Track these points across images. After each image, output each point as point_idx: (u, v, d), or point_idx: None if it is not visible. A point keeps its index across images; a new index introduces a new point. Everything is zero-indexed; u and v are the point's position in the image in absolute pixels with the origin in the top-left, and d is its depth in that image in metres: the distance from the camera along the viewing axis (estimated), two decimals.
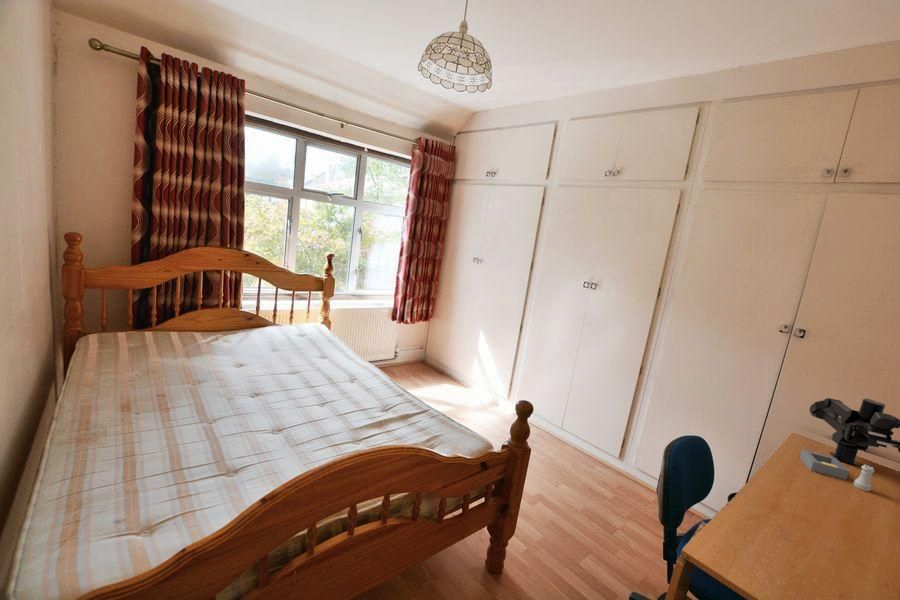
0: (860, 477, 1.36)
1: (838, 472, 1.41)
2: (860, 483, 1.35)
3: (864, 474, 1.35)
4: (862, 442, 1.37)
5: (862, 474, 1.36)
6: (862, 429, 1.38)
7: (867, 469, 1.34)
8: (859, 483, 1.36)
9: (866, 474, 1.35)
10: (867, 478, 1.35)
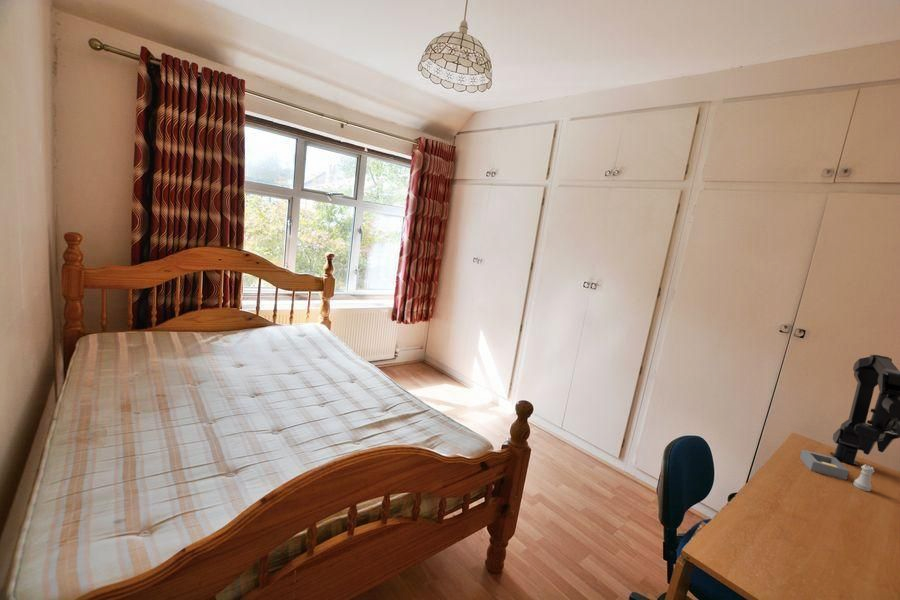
0: (860, 477, 1.36)
1: (838, 472, 1.41)
2: (860, 483, 1.35)
3: (864, 474, 1.35)
4: (861, 438, 1.33)
5: (862, 474, 1.36)
6: (878, 440, 1.28)
7: (867, 469, 1.34)
8: (859, 483, 1.36)
9: (866, 474, 1.35)
10: (867, 478, 1.35)
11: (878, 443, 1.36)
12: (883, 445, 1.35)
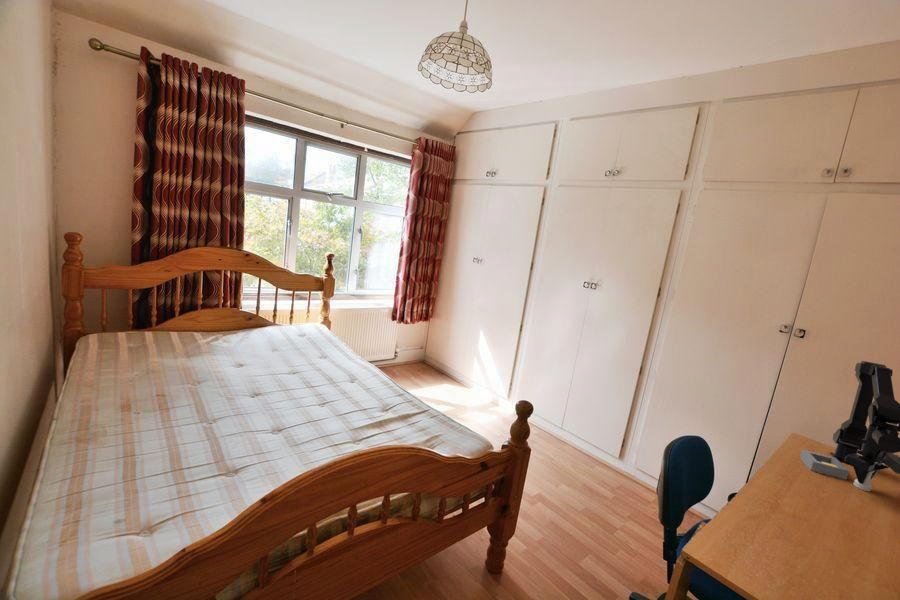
0: None
1: (838, 472, 1.41)
2: (860, 483, 1.35)
3: None
4: (855, 468, 1.35)
5: None
6: None
7: None
8: (859, 483, 1.36)
9: None
10: (867, 478, 1.35)
11: None
12: None
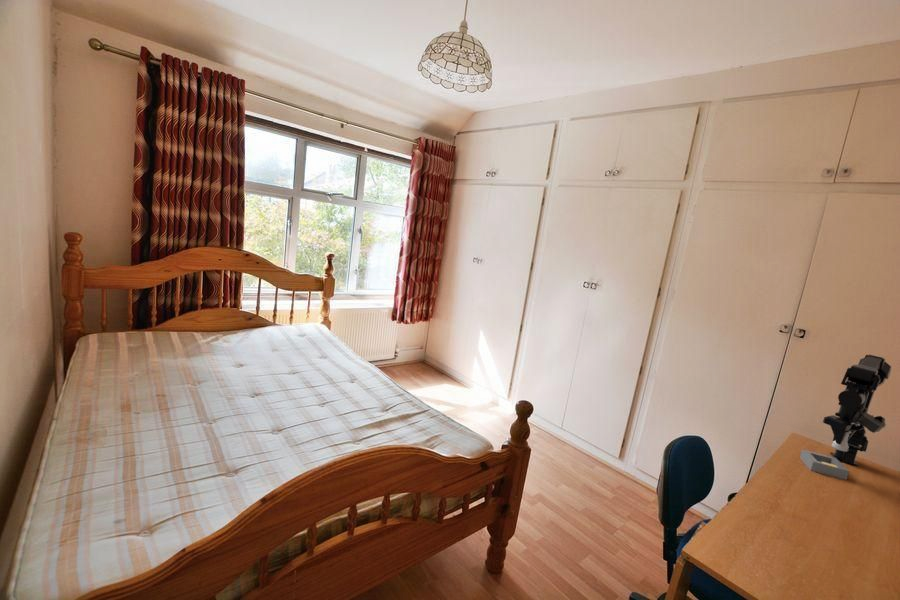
0: None
1: (838, 472, 1.41)
2: (837, 444, 1.41)
3: None
4: (834, 429, 1.41)
5: None
6: (849, 431, 1.37)
7: None
8: (837, 444, 1.42)
9: None
10: (844, 439, 1.41)
11: None
12: None
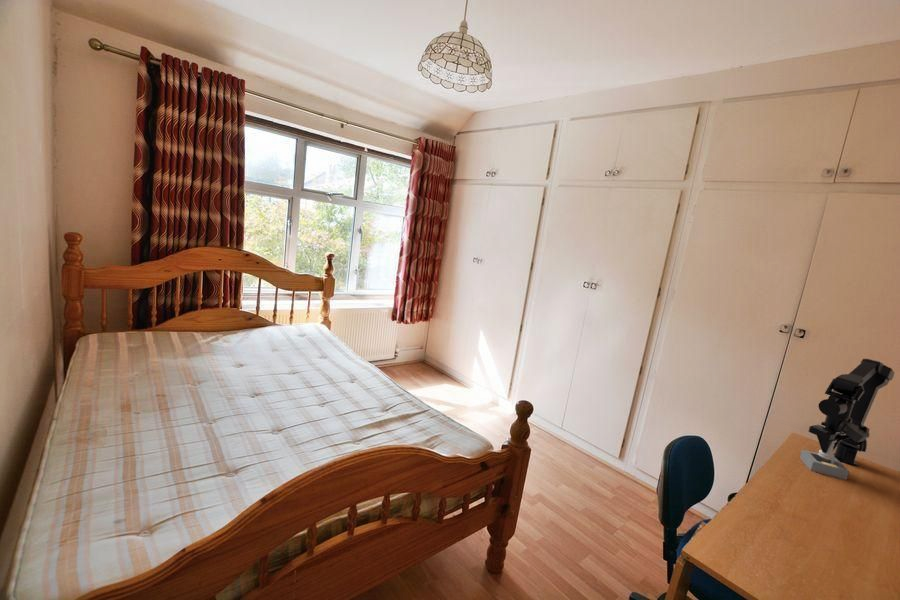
0: None
1: (838, 472, 1.41)
2: (823, 453, 1.45)
3: None
4: (819, 438, 1.45)
5: None
6: (834, 440, 1.41)
7: None
8: (823, 453, 1.45)
9: None
10: (829, 448, 1.44)
11: None
12: None
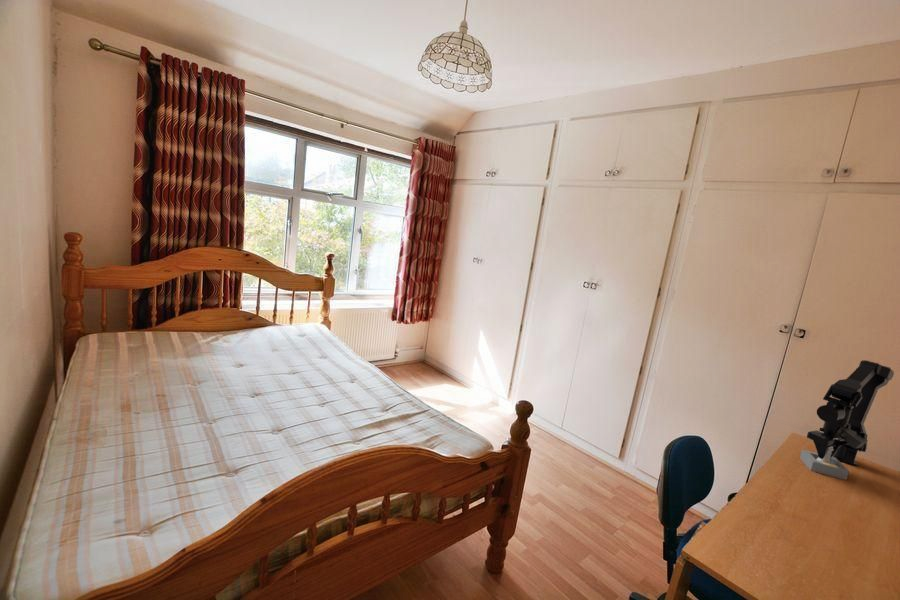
0: None
1: (838, 472, 1.41)
2: (821, 461, 1.46)
3: None
4: (816, 444, 1.45)
5: None
6: (831, 446, 1.41)
7: None
8: (820, 461, 1.46)
9: None
10: (827, 456, 1.45)
11: None
12: None
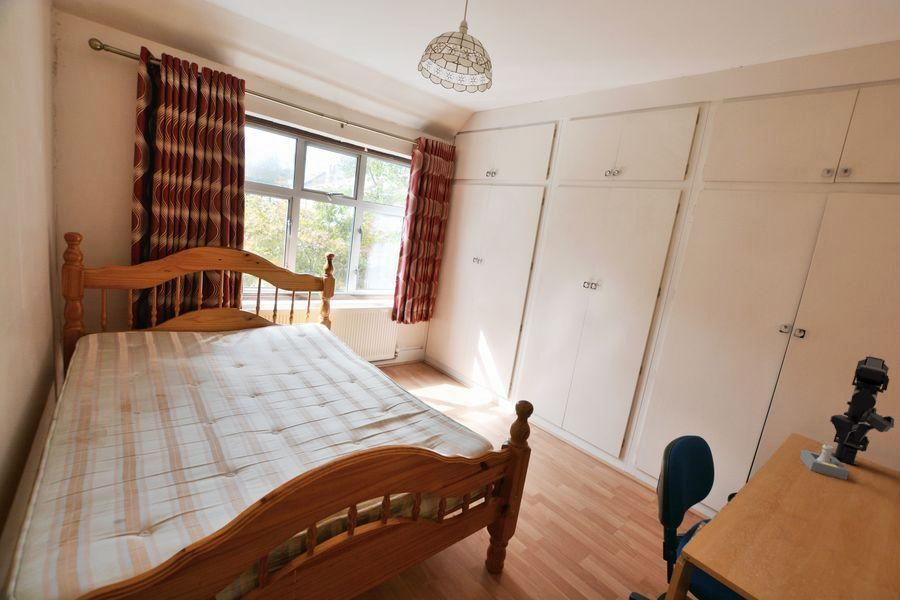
0: (821, 456, 1.46)
1: (838, 472, 1.41)
2: (821, 461, 1.46)
3: (824, 453, 1.45)
4: (837, 429, 1.42)
5: (823, 453, 1.46)
6: (852, 431, 1.38)
7: (827, 448, 1.45)
8: (820, 461, 1.46)
9: (826, 452, 1.45)
10: (827, 457, 1.45)
11: (855, 433, 1.46)
12: (859, 435, 1.45)
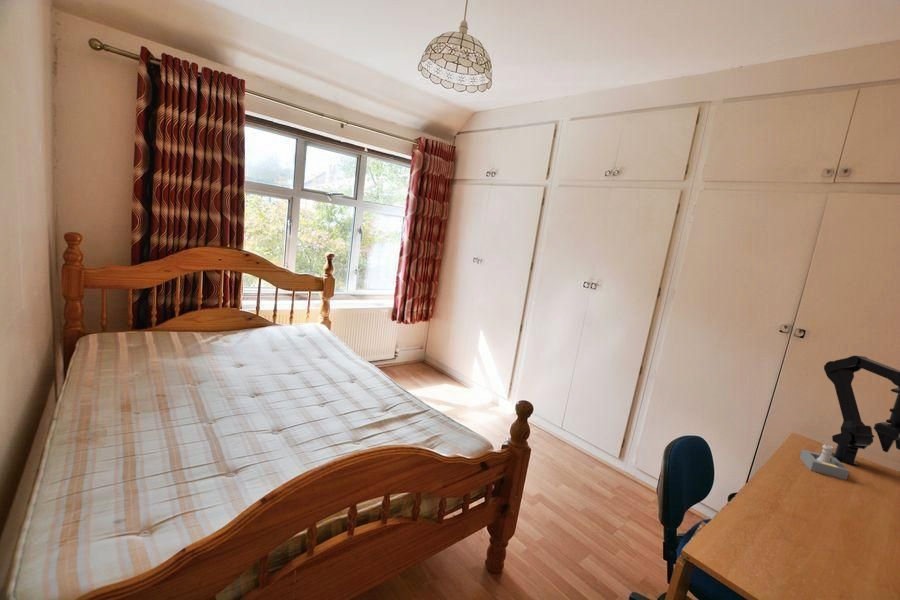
0: (821, 456, 1.46)
1: (838, 472, 1.41)
2: (821, 461, 1.46)
3: (824, 453, 1.45)
4: (880, 437, 1.39)
5: (823, 453, 1.46)
6: (897, 439, 1.35)
7: (827, 448, 1.44)
8: (820, 461, 1.46)
9: (826, 452, 1.45)
10: (827, 457, 1.45)
11: (896, 441, 1.43)
12: None
